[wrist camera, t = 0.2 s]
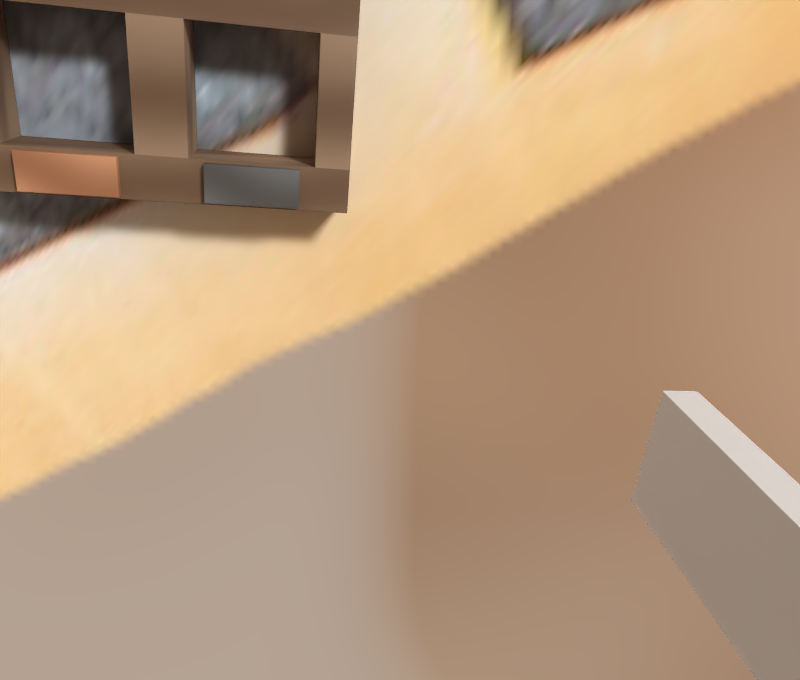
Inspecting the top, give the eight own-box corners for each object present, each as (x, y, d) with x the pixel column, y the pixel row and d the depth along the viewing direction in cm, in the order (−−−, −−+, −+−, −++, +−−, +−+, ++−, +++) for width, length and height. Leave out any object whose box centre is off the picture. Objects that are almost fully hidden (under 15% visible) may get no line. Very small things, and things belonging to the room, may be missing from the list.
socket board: (-47, -59, 31) (-86, -70, 28) (357, -12, 34) (361, -17, 31) (-10, 177, 35) (-40, 190, 32) (344, 200, 38) (347, 214, 35)
